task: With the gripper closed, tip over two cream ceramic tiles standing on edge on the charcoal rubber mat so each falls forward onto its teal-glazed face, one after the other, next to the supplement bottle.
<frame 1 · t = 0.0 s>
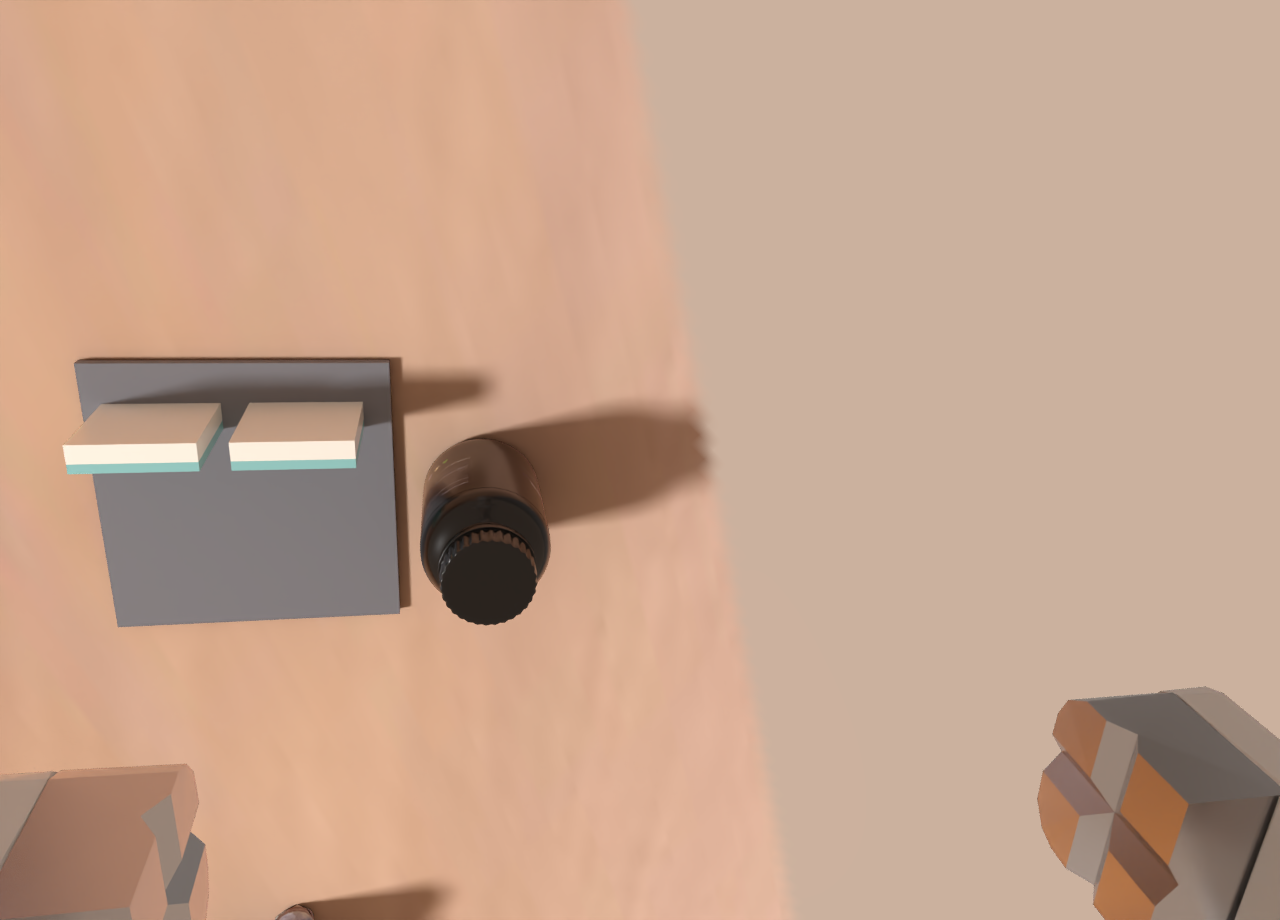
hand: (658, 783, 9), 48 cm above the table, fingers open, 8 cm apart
supplement bottle: (480, 485, 60), on the table
tile b: (163, 416, 54), point 1 cm above the table, touching mat
mat: (251, 494, 57), on the table
tile a: (307, 414, 56), point 1 cm above the table, touching mat
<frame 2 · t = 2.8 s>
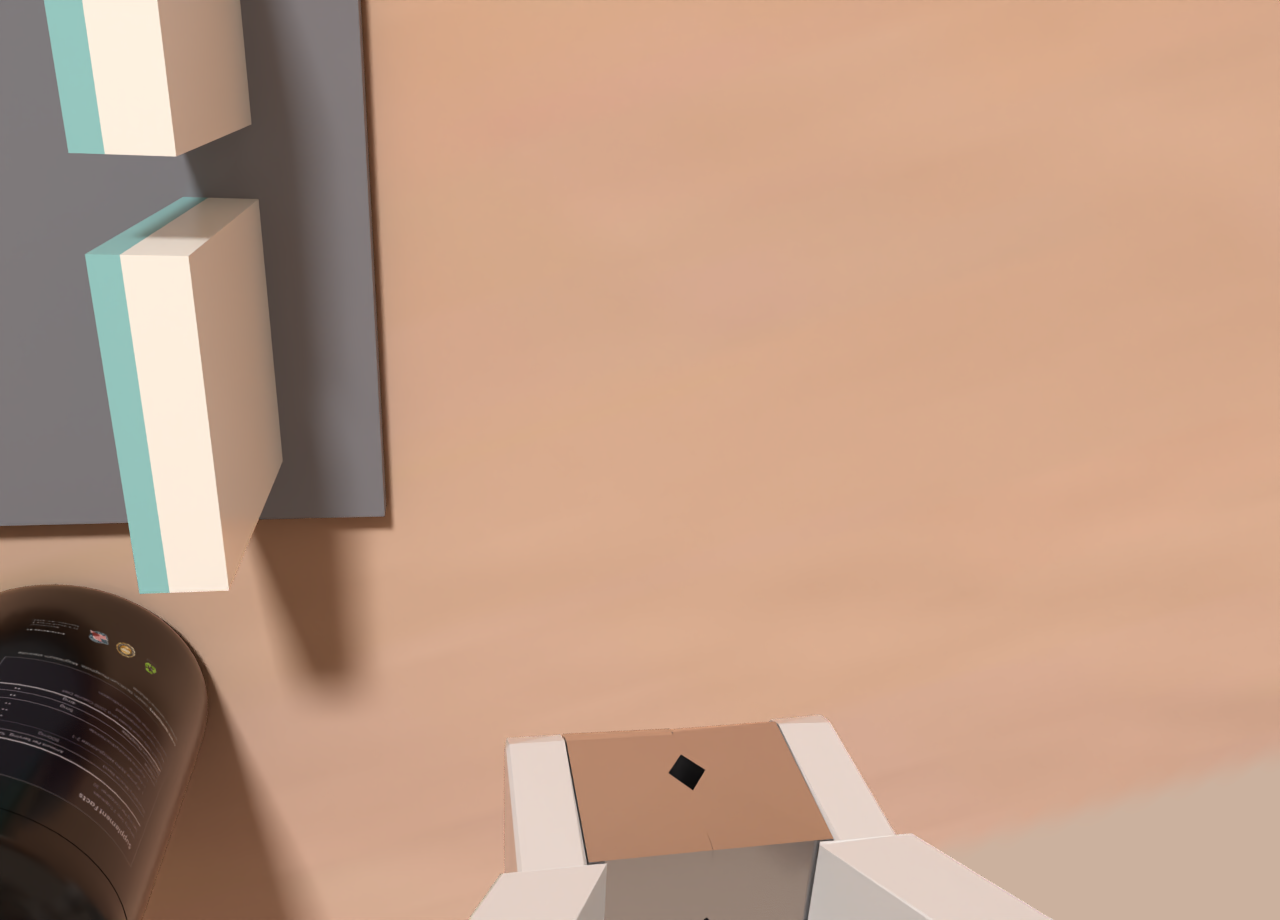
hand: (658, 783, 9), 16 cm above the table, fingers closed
supplement bottle: (77, 685, 26), on the table
tile a: (235, 336, 22), point 1 cm above the table, touching mat
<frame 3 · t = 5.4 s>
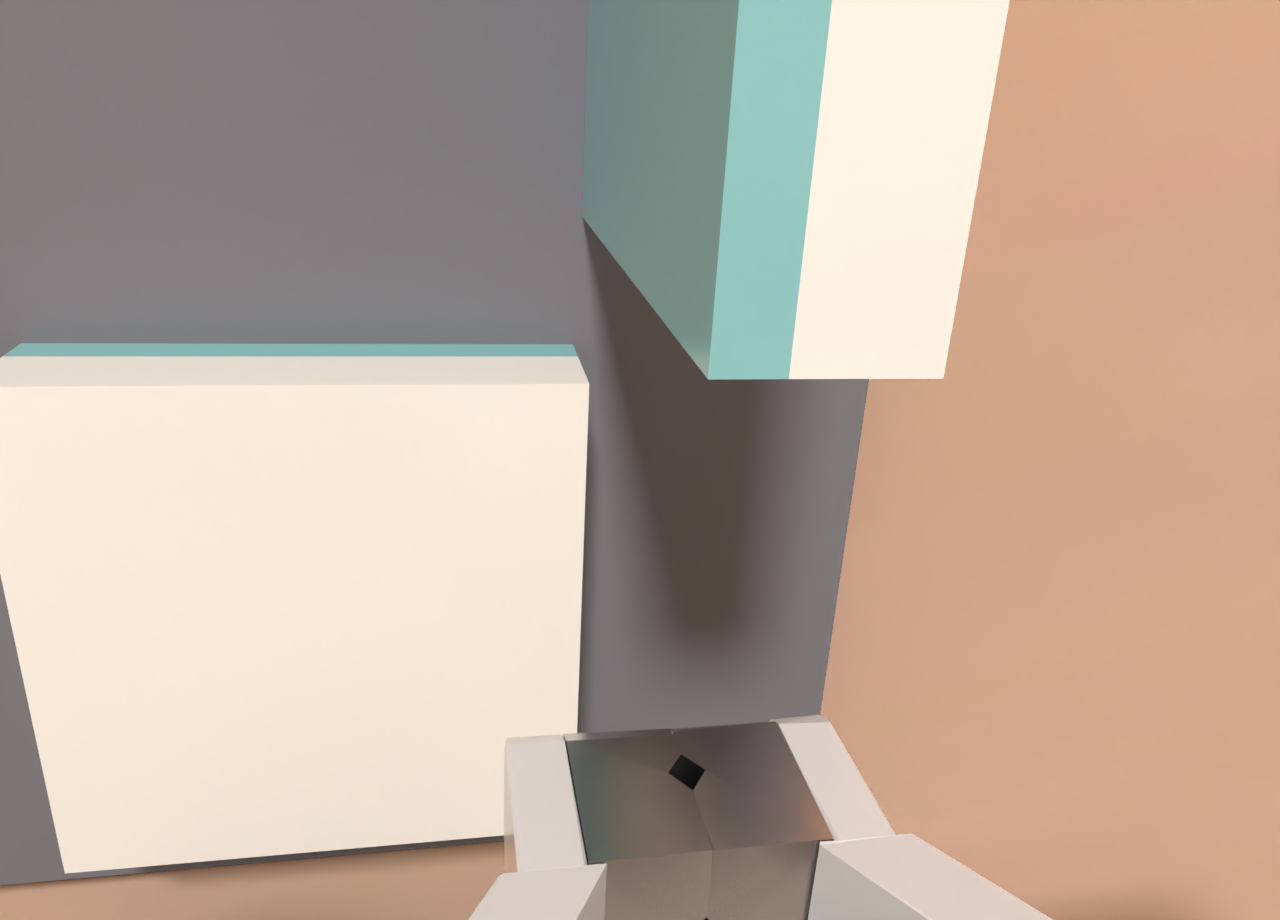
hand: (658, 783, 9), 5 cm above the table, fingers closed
mat: (206, 287, 11), on the table
tile a: (573, 595, 12), point 1 cm above the table, tilted 90°, touching mat
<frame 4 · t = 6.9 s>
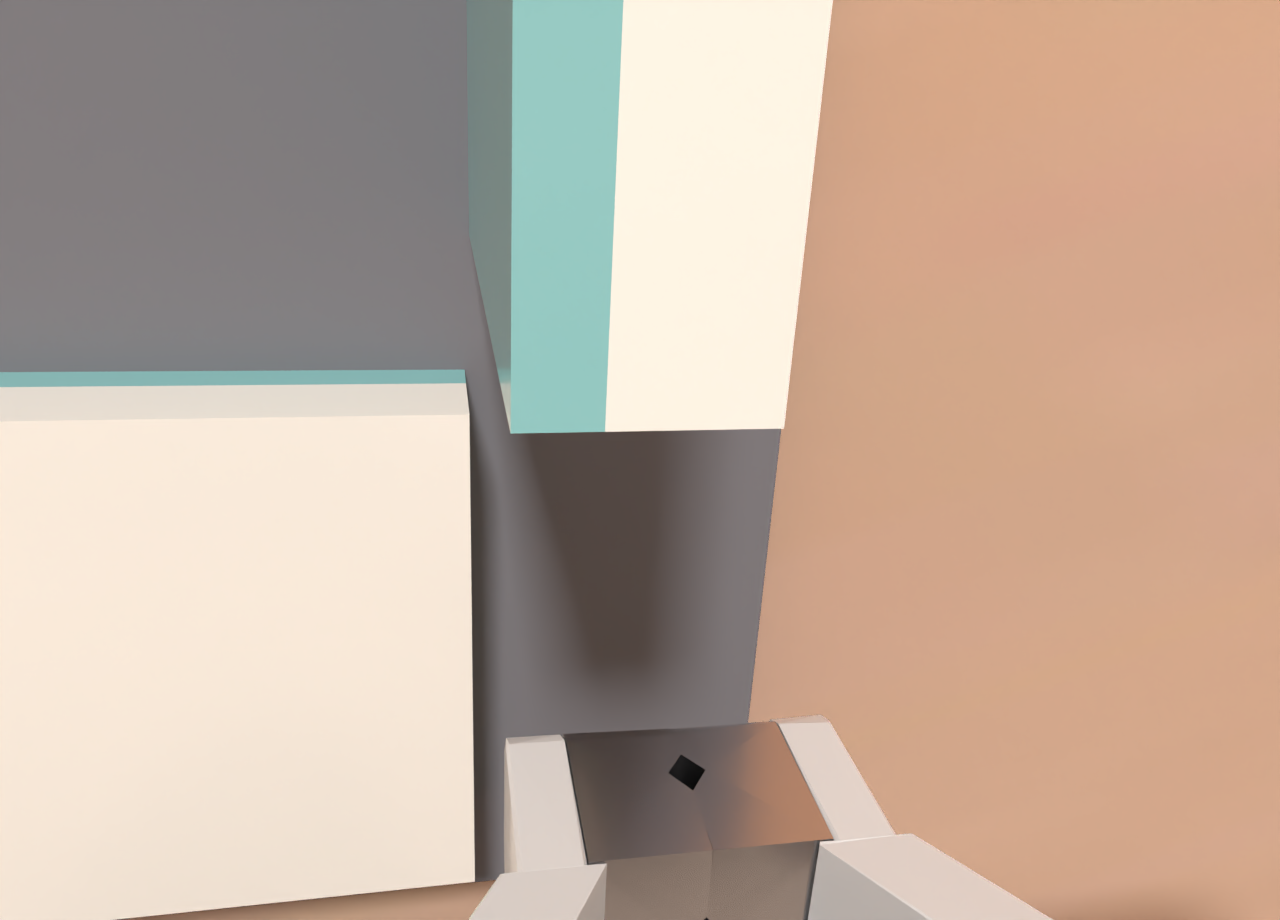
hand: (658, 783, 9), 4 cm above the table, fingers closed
mat: (67, 310, 11), on the table
tile a: (469, 635, 12), point 1 cm above the table, tilted 90°, touching mat
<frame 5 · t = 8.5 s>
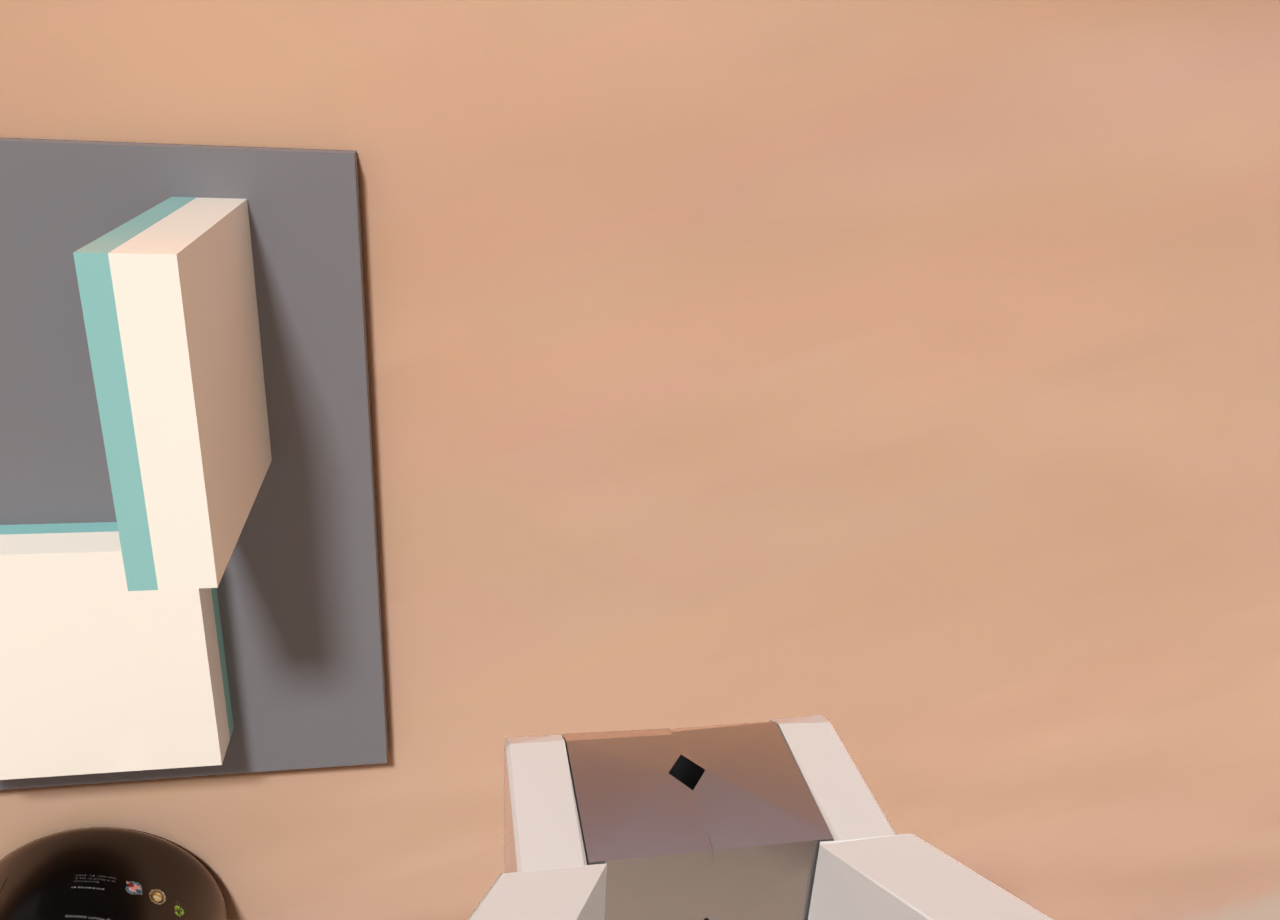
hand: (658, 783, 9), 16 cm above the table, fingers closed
supplement bottle: (110, 905, 29), on the table
tile b: (224, 336, 22), point 1 cm above the table, touching mat
mat: (21, 494, 23), on the table
tile a: (215, 644, 24), point 1 cm above the table, tilted 90°, touching mat
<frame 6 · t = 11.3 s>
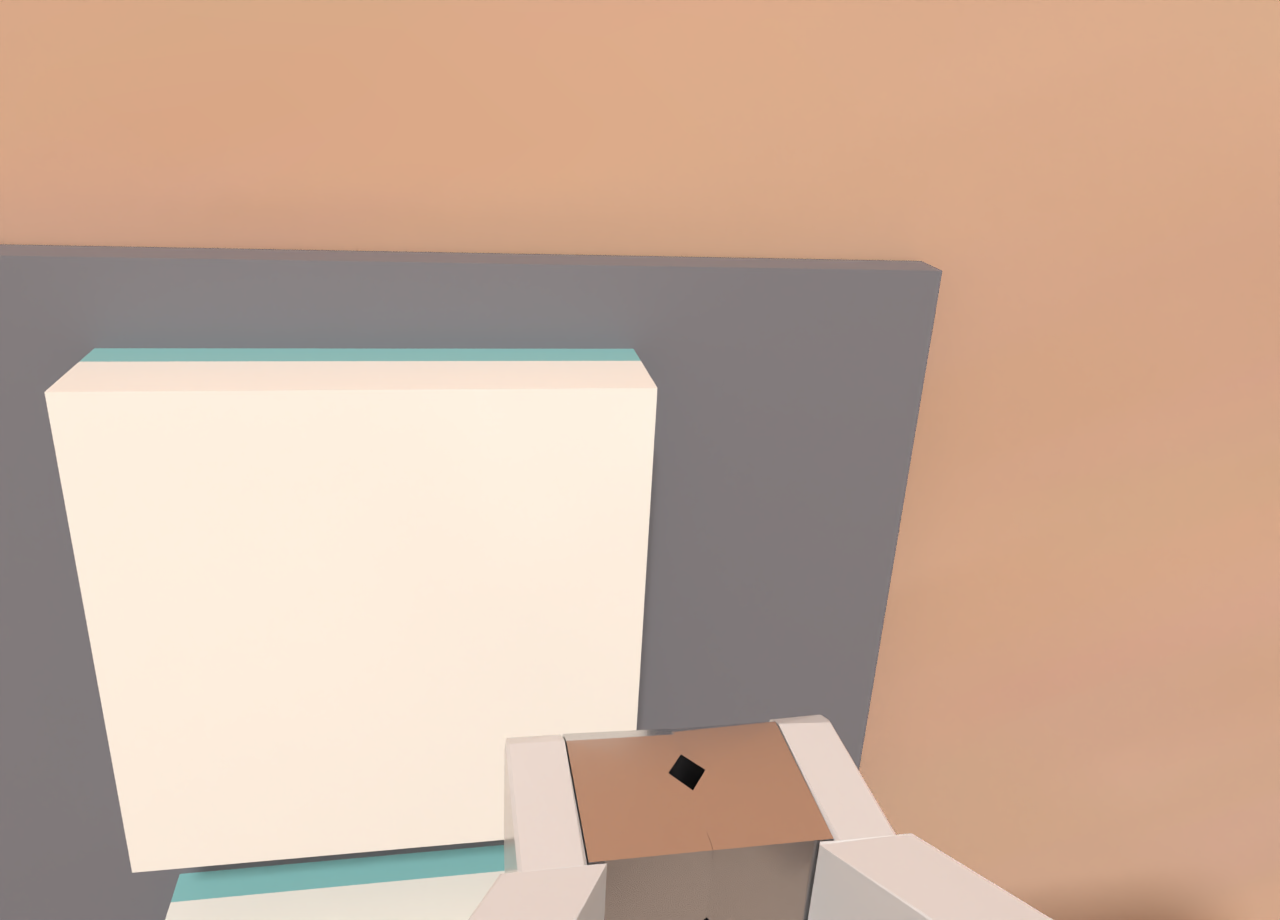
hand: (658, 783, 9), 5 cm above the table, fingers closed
tile b: (631, 597, 12), point 1 cm above the table, tilted 90°, touching mat
mat: (319, 804, 14), on the table
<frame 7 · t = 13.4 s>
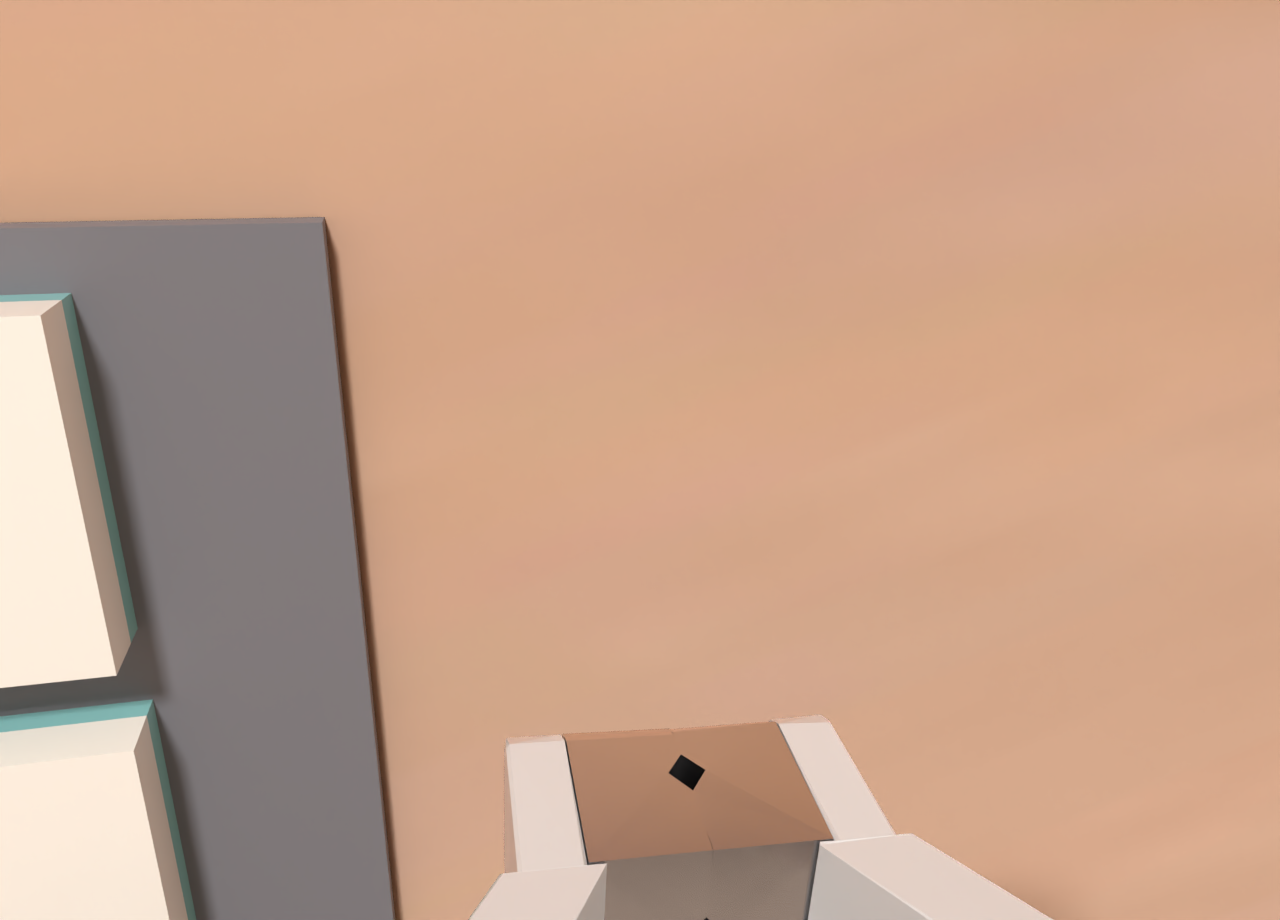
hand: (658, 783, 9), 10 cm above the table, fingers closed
tile b: (94, 489, 16), point 1 cm above the table, tilted 90°, touching mat
tile a: (170, 857, 19), point 1 cm above the table, tilted 90°, touching mat
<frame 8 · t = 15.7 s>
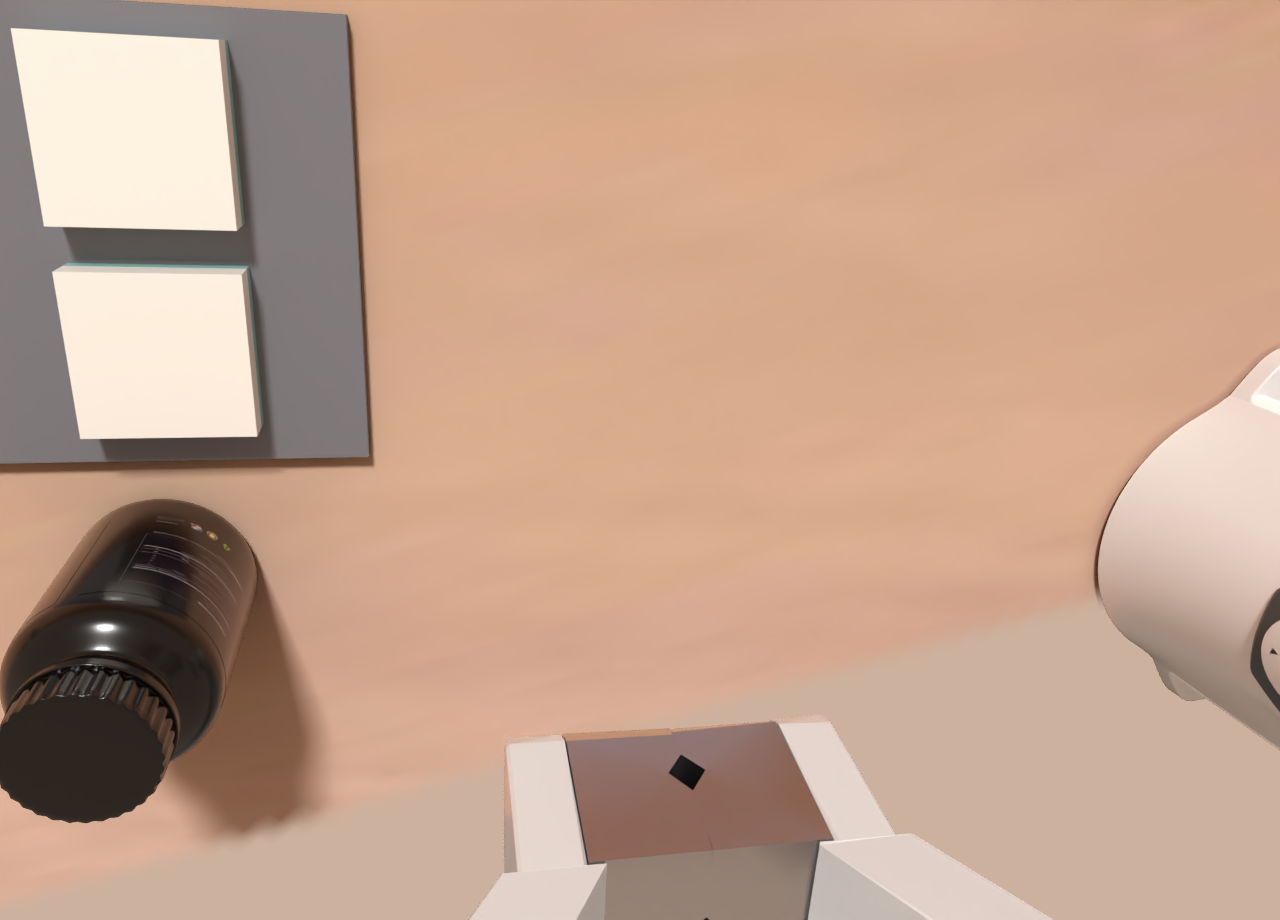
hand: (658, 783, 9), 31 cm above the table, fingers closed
supplement bottle: (174, 566, 41), on the table
tile b: (232, 136, 34), point 1 cm above the table, tilted 90°, touching mat
mat: (126, 246, 35), on the table
tile a: (253, 352, 36), point 1 cm above the table, tilted 90°, touching mat
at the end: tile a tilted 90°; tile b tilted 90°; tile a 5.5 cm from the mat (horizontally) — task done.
